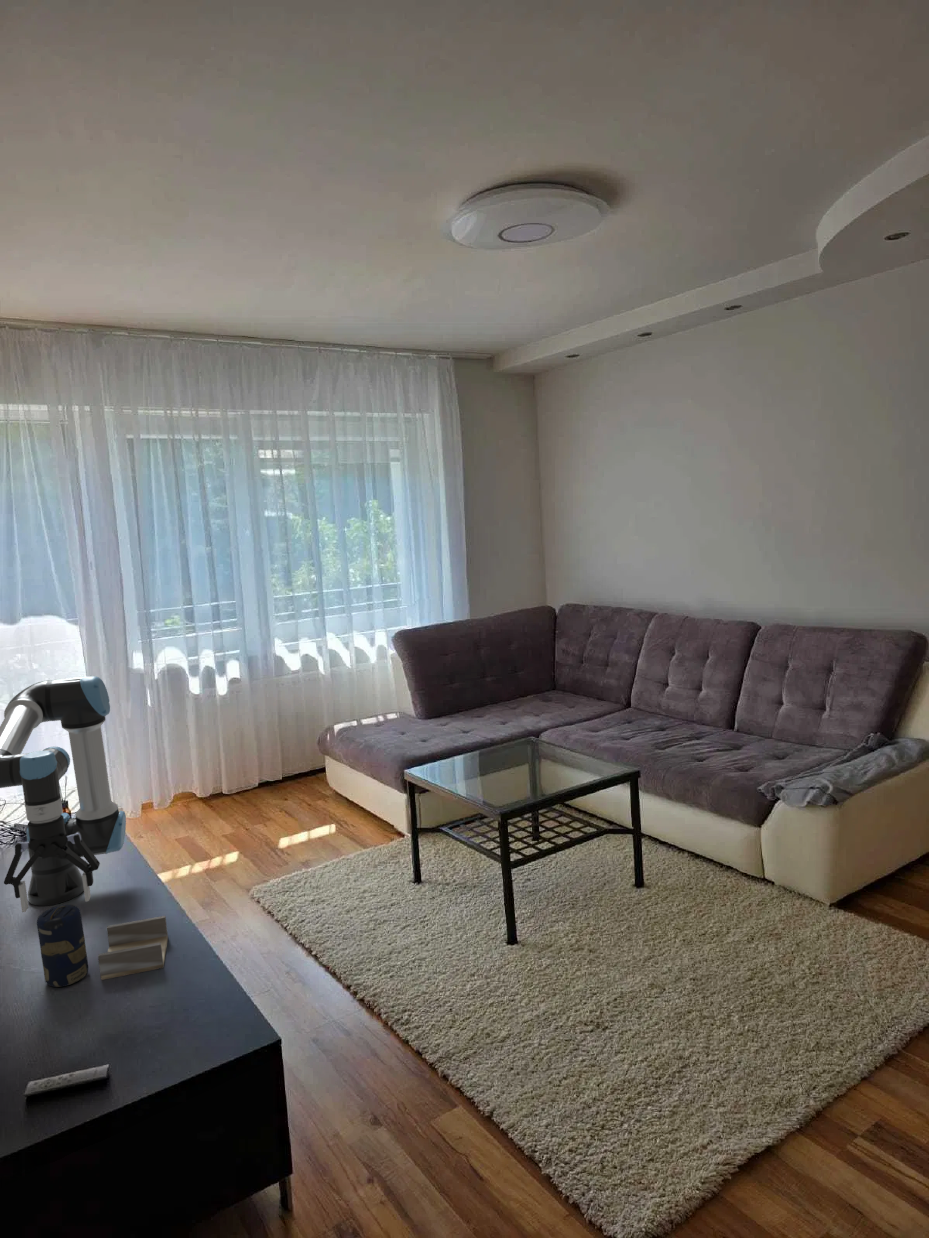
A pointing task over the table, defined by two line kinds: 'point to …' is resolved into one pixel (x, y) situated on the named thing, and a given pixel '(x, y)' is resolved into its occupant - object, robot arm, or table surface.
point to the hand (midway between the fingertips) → (57, 904)
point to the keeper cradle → (134, 947)
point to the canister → (62, 945)
